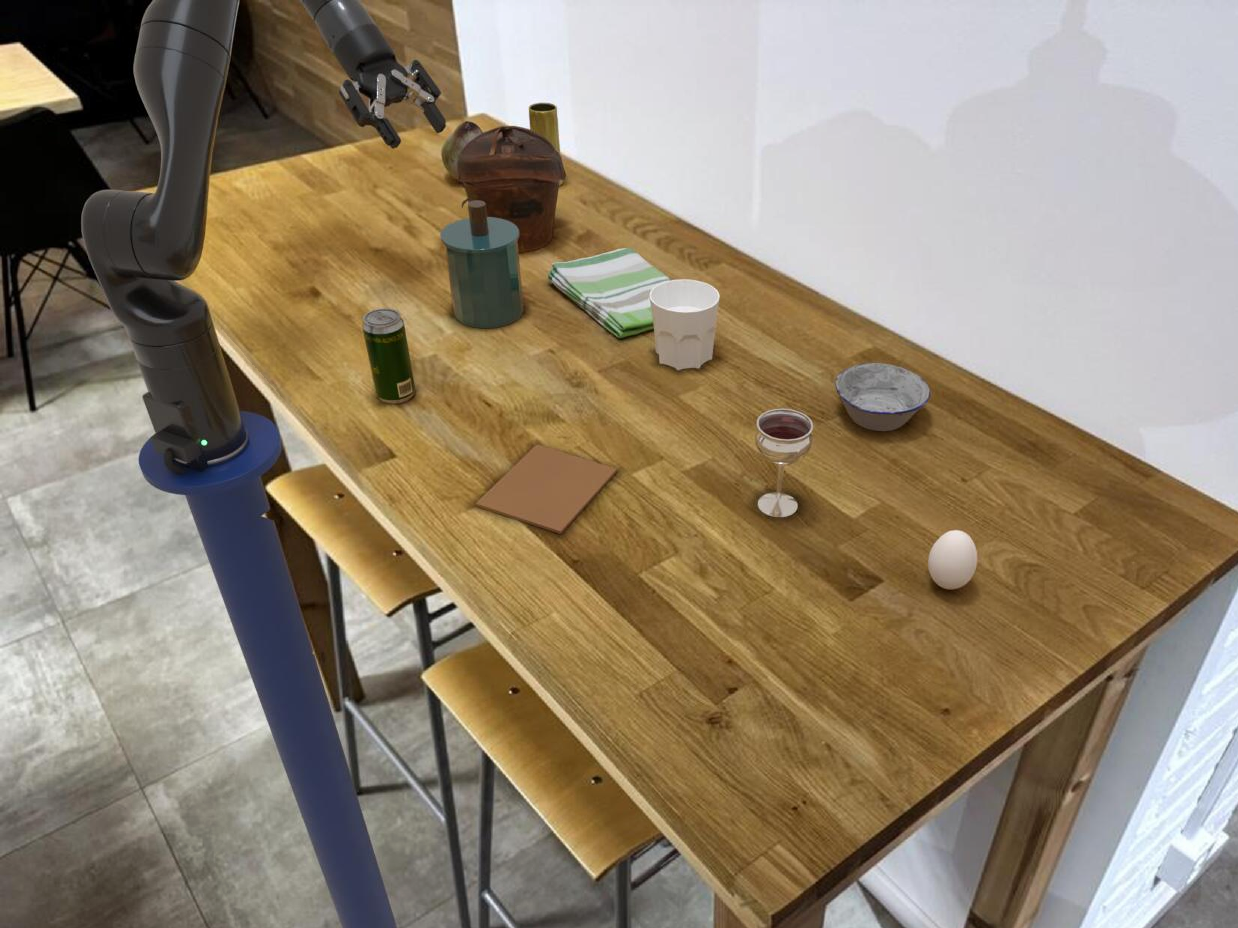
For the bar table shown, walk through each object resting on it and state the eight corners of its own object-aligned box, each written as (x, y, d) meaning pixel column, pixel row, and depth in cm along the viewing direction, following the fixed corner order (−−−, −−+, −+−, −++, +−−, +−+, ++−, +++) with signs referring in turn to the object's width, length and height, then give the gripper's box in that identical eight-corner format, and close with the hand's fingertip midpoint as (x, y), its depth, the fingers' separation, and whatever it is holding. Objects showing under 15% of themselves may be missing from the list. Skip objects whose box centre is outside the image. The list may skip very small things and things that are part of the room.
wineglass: (753, 522, 130) (758, 441, 123) (748, 488, 136) (753, 408, 128) (808, 521, 131) (817, 440, 123) (801, 487, 136) (809, 408, 128)
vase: (525, 182, 208) (519, 107, 199) (547, 173, 212) (541, 99, 203) (549, 190, 205) (543, 115, 196) (570, 181, 209) (566, 106, 200)
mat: (561, 534, 128) (560, 531, 127) (476, 506, 131) (475, 503, 131) (617, 471, 137) (617, 468, 137) (536, 447, 141) (536, 444, 141)
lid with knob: (491, 263, 155) (487, 226, 151) (425, 247, 158) (419, 210, 155) (534, 233, 163) (531, 197, 159) (470, 218, 167) (466, 182, 163)
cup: (709, 336, 165) (711, 277, 158) (723, 370, 157) (726, 309, 151) (645, 341, 163) (644, 281, 156) (656, 376, 155) (656, 314, 149)
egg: (931, 563, 126) (942, 513, 121) (975, 577, 124) (988, 526, 119) (917, 591, 122) (928, 540, 117) (963, 606, 120) (976, 555, 115)
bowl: (881, 453, 142) (885, 422, 139) (812, 411, 150) (816, 381, 147) (943, 419, 149) (949, 389, 146) (875, 380, 156) (880, 351, 153)
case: (521, 206, 199) (512, 107, 188) (591, 240, 189) (586, 138, 178) (440, 233, 189) (425, 131, 178) (510, 271, 179) (499, 165, 168)
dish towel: (633, 259, 184) (633, 239, 182) (711, 313, 170) (712, 293, 168) (545, 283, 176) (543, 263, 174) (619, 343, 162) (618, 322, 160)
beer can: (424, 391, 150) (411, 314, 143) (397, 409, 147) (382, 331, 139) (395, 380, 152) (381, 303, 145) (368, 397, 149) (351, 320, 141)
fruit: (462, 193, 203) (454, 129, 195) (433, 178, 208) (424, 115, 200) (506, 179, 209) (499, 116, 201) (476, 165, 214) (469, 103, 206)
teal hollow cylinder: (499, 334, 163) (490, 257, 155) (440, 318, 166) (429, 242, 158) (536, 305, 171) (529, 230, 163) (479, 290, 174) (470, 216, 166)
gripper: (321, 32, 147) (391, 136, 150) (402, 12, 156) (466, 110, 159) (305, 65, 153) (372, 164, 155) (384, 43, 162) (446, 138, 164)
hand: (420, 137), depth 157 cm, fingers open, 8 cm apart
